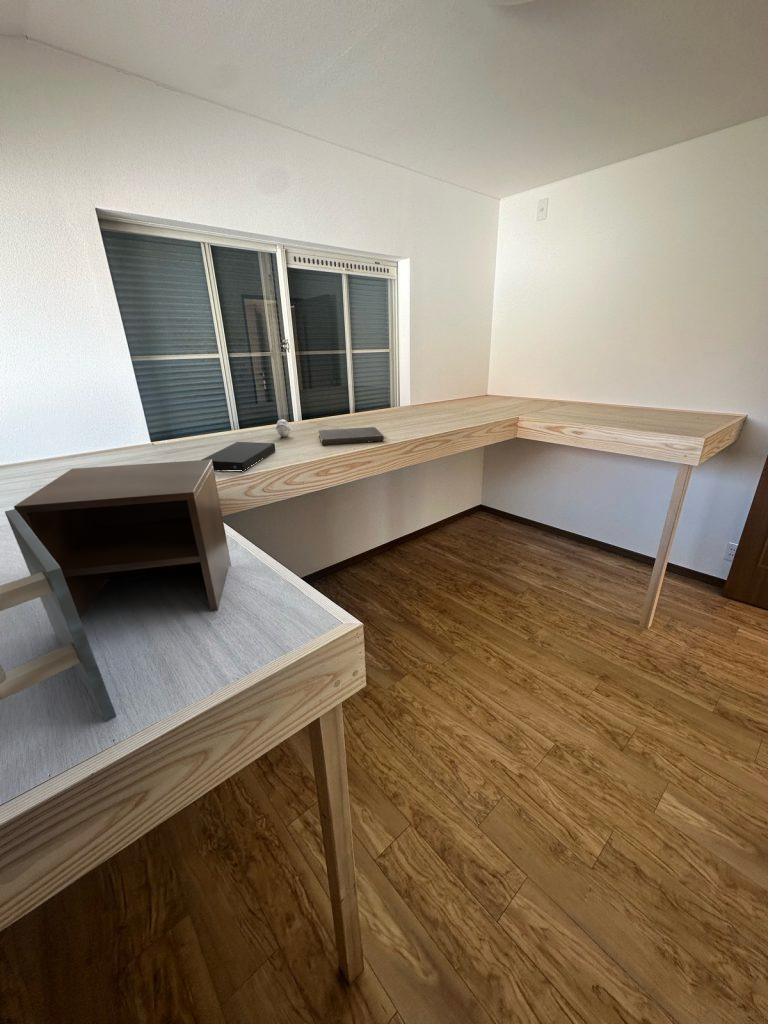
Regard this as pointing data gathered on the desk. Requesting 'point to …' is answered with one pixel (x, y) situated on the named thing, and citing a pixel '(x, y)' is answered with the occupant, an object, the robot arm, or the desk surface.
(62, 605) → the door
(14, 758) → the desk surface
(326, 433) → the hardcover book
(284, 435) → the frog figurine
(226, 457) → the external hard drive
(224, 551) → the cupboard
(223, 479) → the desk surface
